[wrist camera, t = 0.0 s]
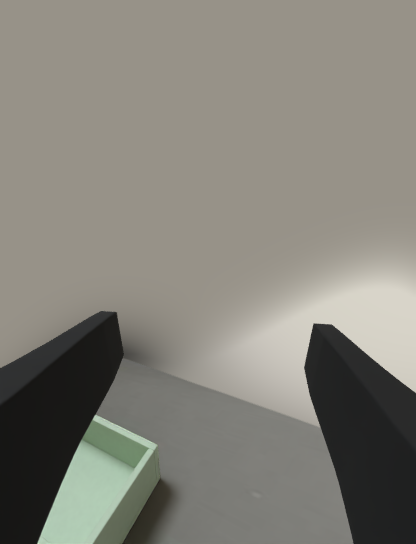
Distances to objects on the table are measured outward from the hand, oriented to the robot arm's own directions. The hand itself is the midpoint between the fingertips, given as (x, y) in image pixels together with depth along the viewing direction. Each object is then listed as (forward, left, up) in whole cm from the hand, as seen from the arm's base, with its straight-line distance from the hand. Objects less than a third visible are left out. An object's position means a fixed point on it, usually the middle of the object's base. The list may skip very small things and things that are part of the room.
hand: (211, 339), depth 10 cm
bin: (+6, +13, -22) cm, 26 cm away
